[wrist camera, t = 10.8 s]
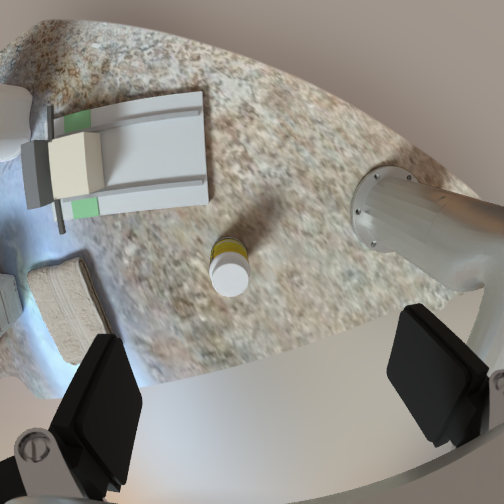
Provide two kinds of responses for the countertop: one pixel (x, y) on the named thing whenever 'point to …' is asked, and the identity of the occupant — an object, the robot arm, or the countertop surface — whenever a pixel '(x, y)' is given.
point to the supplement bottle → (229, 267)
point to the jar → (14, 120)
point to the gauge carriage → (73, 165)
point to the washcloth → (69, 307)
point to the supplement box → (8, 302)
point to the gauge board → (130, 157)
